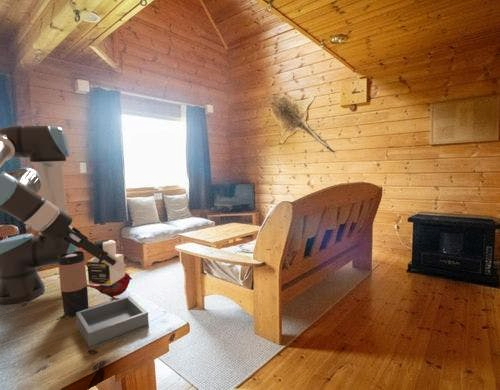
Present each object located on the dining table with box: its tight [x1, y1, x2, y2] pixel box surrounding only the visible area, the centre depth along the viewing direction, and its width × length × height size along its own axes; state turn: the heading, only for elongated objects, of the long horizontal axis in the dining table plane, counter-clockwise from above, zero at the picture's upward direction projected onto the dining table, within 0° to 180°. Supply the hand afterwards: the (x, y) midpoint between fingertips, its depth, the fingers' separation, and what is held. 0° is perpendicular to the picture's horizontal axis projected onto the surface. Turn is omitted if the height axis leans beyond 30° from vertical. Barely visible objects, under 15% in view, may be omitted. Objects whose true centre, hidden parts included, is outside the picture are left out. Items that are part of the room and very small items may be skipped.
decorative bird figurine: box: [87, 272, 133, 301], centre depth 109 cm, size 3×18×10 cm, turn 89°
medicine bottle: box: [86, 239, 126, 286], centre depth 88 cm, size 7×7×12 cm
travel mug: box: [57, 250, 89, 318], centre depth 100 cm, size 8×8×20 cm
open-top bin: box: [75, 295, 150, 350], centre depth 91 cm, size 16×16×4 cm
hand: (117, 264), depth 91 cm, fingers closed on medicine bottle, 10 cm apart
